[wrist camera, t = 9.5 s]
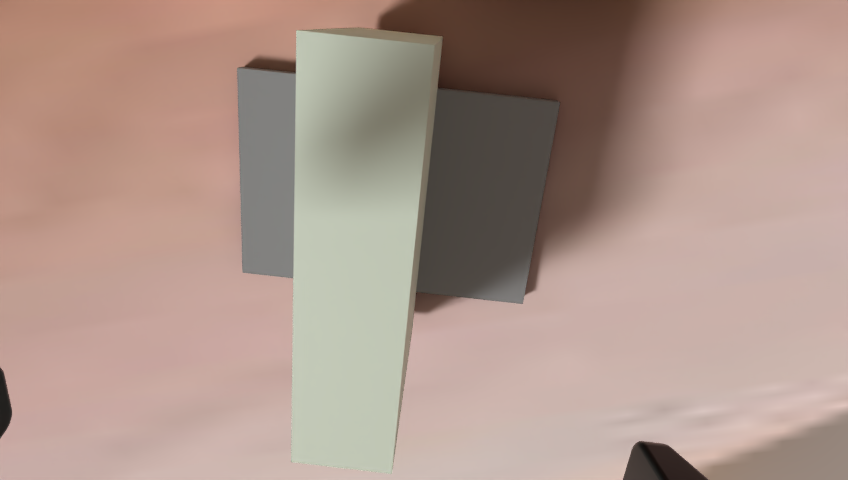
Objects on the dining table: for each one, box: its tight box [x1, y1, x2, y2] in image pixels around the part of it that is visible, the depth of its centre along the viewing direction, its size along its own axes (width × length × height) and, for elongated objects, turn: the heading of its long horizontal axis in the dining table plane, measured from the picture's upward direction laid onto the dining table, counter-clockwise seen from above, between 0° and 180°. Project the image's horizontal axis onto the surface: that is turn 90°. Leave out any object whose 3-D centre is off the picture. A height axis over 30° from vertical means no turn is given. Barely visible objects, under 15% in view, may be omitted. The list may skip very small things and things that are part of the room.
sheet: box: [291, 27, 443, 474], centre depth 15 cm, size 2×10×7 cm, turn 174°
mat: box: [237, 67, 560, 304], centre depth 18 cm, size 10×7×1 cm
